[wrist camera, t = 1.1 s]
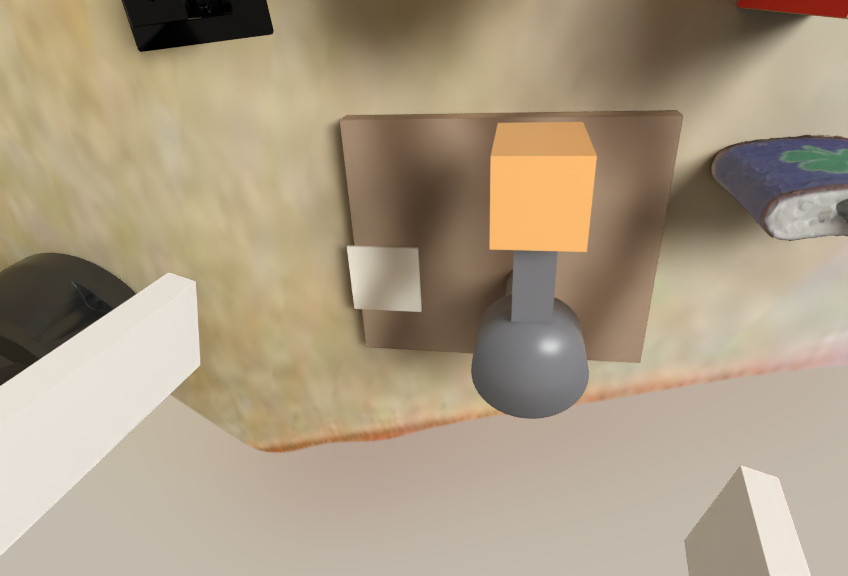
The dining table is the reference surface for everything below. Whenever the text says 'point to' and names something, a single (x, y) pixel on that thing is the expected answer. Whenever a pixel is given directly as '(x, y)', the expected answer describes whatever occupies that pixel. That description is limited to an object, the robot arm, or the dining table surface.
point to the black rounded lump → (195, 21)
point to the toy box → (800, 7)
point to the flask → (789, 184)
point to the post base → (470, 227)
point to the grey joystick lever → (535, 268)
